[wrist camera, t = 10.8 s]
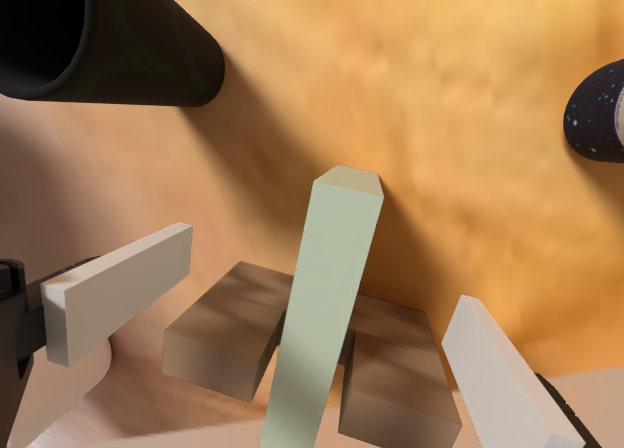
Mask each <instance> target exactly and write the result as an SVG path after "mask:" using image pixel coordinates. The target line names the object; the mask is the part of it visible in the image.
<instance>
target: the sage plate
mask: <svg viewBox="0 0 624 448" xmlns="http://www.w3.org/2000/svg"><path fill="white" fill-rule="evenodd" d="M383 199H384V195H383V192H382V188H381V185H380V181H379V177H378V174H377V173H373V172H368V171H364V170H360V169H355V168H351V167H346V166H342V165H336V166H335V167H333V168H332V169H330V170H329V171H328V172H326V173H325V174H323V175H322V176H320V177H319V178H317V179H316V180H314V182H313V187H312V192H311V197H310V202H309V206H308V211H307V216H306V221H305V226H304V231H303V236H302V241H301V246H300V250H299V255H298V260H297V265H296V270H295V275H294V280H293V285H292V289H291V294H290V299H289V304H288V309H287V314H286V319H285V324H284V329H283V333H282V338H281V343H280V348H279V353H278V358H277V363H276V368H275V372H274V377H273V382H272V387H271V392H270V397H269V402H268V407H267V411H266V416H265V421H264V426H263V431H262V436H261V441H260V446H259V448H313V447H314V444H315V440H316V437H317V433H318V429H319V426H320V422H321V419H322V415H323V412H324V408H325V405H326V401H327V398H328V394H329V391H330V387H331V384H332V380H333V376H334V373H335V369H336V366H337V362H338V359H339V355H340V352H341V348H342V345H343V341H344V337H345V334H346V330H347V327H348V323H349V320H350V316H351V313H352V309H353V306H354V302H355V299H356V295H357V291H358V288H359V284H360V281H361V277H362V274H363V270H364V267H365V263H366V260H367V256H368V252H369V249H370V245H371V242H372V238H373V235H374V231H375V228H376V224H377V221H378V217H379V214H380V210H381V206H382V203H383Z"/></svg>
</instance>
